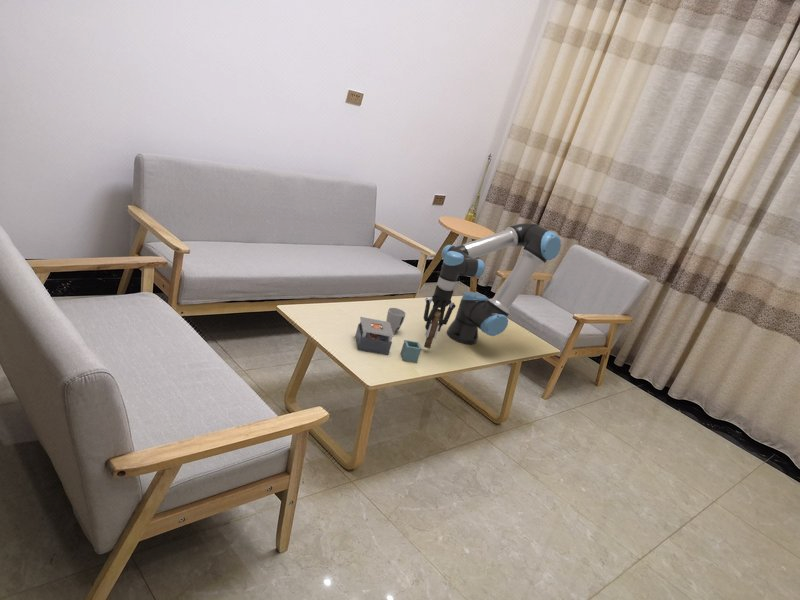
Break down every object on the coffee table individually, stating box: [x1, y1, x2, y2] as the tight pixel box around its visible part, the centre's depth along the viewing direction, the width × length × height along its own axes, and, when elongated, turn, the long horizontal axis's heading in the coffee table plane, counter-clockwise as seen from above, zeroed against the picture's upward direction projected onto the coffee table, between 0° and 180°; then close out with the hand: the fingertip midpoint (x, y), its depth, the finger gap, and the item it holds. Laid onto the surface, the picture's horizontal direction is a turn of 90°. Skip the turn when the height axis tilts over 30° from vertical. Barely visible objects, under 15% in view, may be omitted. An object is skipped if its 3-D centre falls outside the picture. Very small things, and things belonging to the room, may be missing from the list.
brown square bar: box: [423, 308, 441, 349], centre depth 234 cm, size 3×3×18 cm
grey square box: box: [354, 316, 395, 356], centre depth 227 cm, size 13×13×9 cm
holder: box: [400, 339, 422, 364], centre depth 226 cm, size 6×6×7 cm
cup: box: [385, 307, 407, 335], centre depth 246 cm, size 8×8×10 cm
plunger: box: [370, 324, 382, 336], centre depth 226 cm, size 4×4×4 cm
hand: (430, 336), depth 235 cm, fingers closed on brown square bar, 3 cm apart
